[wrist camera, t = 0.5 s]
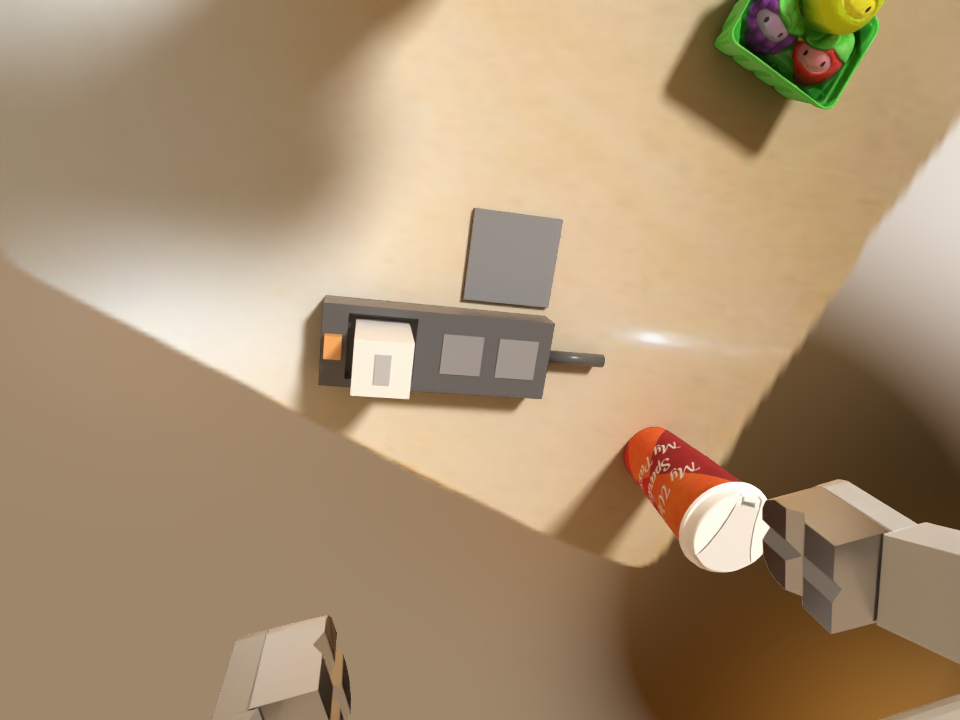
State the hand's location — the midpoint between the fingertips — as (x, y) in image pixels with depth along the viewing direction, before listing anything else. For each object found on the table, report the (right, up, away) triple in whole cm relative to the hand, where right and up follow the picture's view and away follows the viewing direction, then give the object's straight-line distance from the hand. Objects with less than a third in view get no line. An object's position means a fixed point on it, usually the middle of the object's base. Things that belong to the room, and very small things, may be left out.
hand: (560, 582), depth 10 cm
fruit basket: (+24, +32, +39) cm, 56 cm away
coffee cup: (+16, -6, +50) cm, 53 cm away
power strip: (-3, +5, +43) cm, 43 cm away
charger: (-10, +5, +40) cm, 41 cm away
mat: (+1, +13, +41) cm, 43 cm away
